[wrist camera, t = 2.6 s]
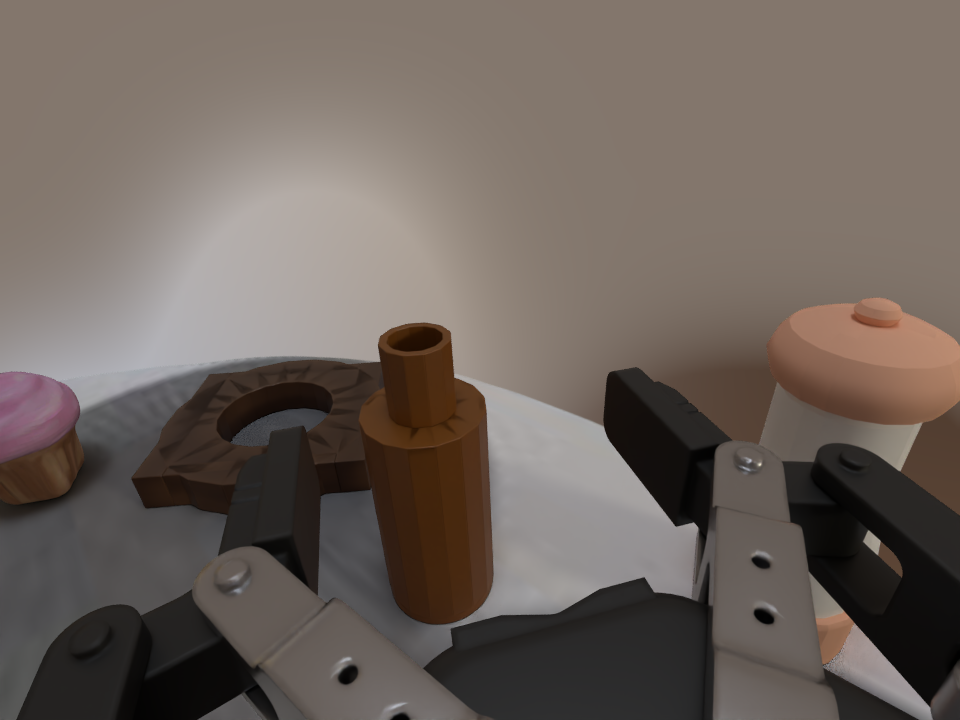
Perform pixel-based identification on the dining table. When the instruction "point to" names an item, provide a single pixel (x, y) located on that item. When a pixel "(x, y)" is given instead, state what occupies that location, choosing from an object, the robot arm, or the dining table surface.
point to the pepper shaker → (855, 398)
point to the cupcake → (37, 438)
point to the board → (241, 400)
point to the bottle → (429, 476)
